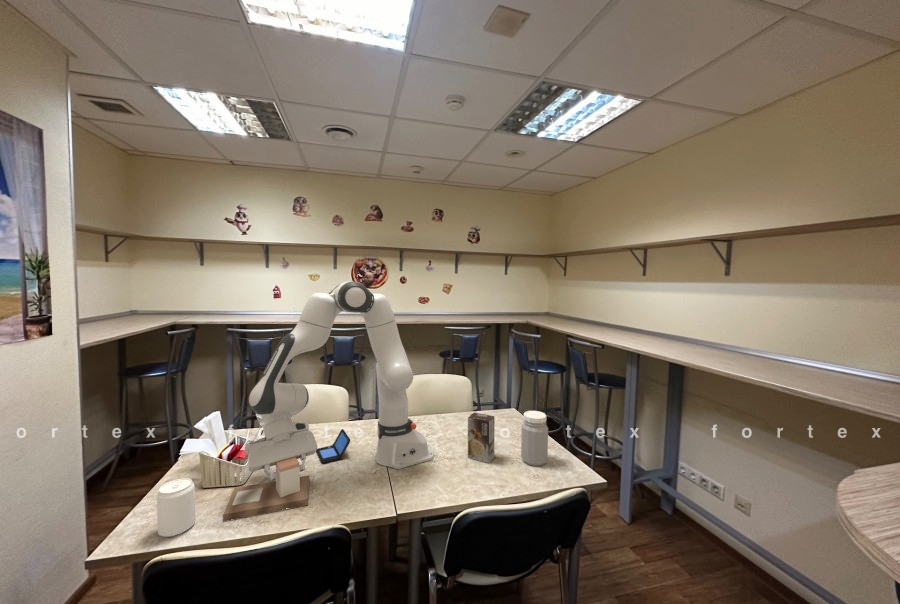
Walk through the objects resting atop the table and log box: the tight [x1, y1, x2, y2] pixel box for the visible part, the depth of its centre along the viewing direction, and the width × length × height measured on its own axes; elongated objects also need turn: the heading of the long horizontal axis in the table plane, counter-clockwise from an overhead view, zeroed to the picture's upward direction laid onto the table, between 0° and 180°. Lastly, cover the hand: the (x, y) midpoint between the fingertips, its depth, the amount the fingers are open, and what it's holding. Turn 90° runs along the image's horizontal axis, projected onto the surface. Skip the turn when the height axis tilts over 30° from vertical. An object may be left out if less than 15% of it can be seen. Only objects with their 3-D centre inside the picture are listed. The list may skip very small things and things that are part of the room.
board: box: [222, 474, 310, 522], centre depth 109 cm, size 22×14×9 cm, turn 110°
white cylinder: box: [156, 477, 196, 537], centre depth 96 cm, size 8×8×12 cm
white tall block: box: [275, 457, 301, 497], centre depth 110 cm, size 6×6×9 cm
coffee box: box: [467, 412, 495, 464], centre depth 136 cm, size 9×6×16 cm
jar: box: [520, 410, 549, 467], centre depth 134 cm, size 10×10×18 cm
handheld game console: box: [315, 428, 351, 465], centre depth 138 cm, size 12×11×7 cm
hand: (288, 475), depth 110 cm, fingers open, 7 cm apart
